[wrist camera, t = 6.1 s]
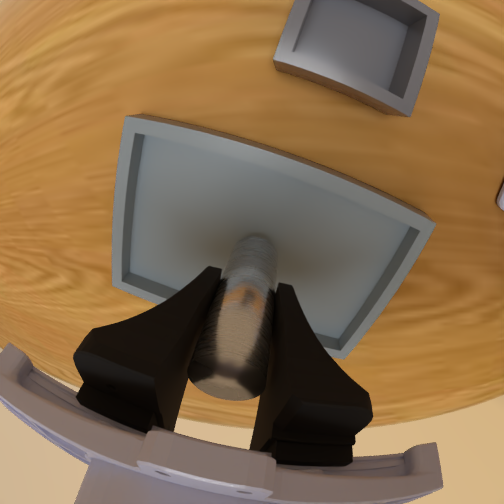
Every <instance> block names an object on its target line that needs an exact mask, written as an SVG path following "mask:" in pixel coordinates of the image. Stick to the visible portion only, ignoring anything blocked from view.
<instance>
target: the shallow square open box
mask: <svg viewBox="0 0 504 504" xmlns="http://www.w3.org/2000/svg"><path fill="white" fill-rule="evenodd" d="M439 16H440V14H439V13H437V12H436V11H434V10H433V9H431V8H429V7H428V6H426V5H425V4H423V3H421V2H420V1H418V0H295V2H294V4H293V7H292V9H291V12H290V14H289V17H288V20H287V22H286V25H285V28H284V30H283V33H282V36H281V38H280V41H279V44H278V47H277V49H276V52H275V55H274V58H273V61H274V65H275V68H276V70H278V71H281V72H285V73H288V74H291V75H294V76H297V77H300V78H303V79H306V80H309V81H312V82H314V83H317V84H320V85H322V86H325V87H328V88H330V89H333V90H335V91H337V92H340V93H342V94H345V95H347V96H349V97H351V98H354V99H356V100H358V101H360V102H362V103H365V104H367V105H369V106H371V107H373V108H375V109H377V110H379V111H381V112H383V113H385V114H387V115H394V116H403V117H410V116H411V114H412V111H413V108H414V105H415V102H416V99H417V96H418V93H419V90H420V87H421V84H422V81H423V78H424V74H425V71H426V68H427V64H428V61H429V57H430V54H431V50H432V46H433V42H434V38H435V34H436V30H437V25H438V21H439Z"/></svg>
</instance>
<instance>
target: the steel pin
mask: <svg viewBox="0 0 504 504" xmlns="http://www.w3.org/2000/svg"><path fill="white" fill-rule="evenodd" d="M277 269H278V253H277V250H276V248H275V247H274V245H273V244H272V243H271V242H269V241H268V240H266V239H264V238H261V237H257V236H250V237H245V238H243V239H241V240H239V241H238V242H237V243H236V244H235V245H234V247H233V249H232V251H231V254H230V256H229V259H228V262H227V264H226V267H225V269H224V272H223V275H222V277H221V280H220V283H219V285H218V288H217V291H216V293H215V296H214V298H213V301H212V304H211V306H210V309H209V312H208V314H207V317H206V320H205V322H204V325H203V328H202V330H201V333H200V336H199V338H198V341H197V344H196V347H195V349H194V352H193V355H192V358H191V360H190V363H189V366H188V369H187V374H188V377H189V379H190V381H191V382H192V383H193V384H194V385H195V386H196V387H197V388H198V389H200V390H201V391H203V392H205V393H207V394H209V395H211V396H214V397H217V398H220V399H225V400H233V401H242V400H249V399H253V398H255V397H257V396H259V395H261V394H262V393H263V392H264V390H265V388H266V381H267V372H268V363H269V354H270V344H271V335H272V325H273V314H274V303H275V292H276V281H277Z"/></svg>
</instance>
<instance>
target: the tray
mask: <svg viewBox="0 0 504 504" xmlns="http://www.w3.org/2000/svg"><path fill="white" fill-rule="evenodd" d="M435 226H436V223H435V222H434V221H433V220H432V219H431V218H430V217H429V216H428V215H427V214H426V213H424V212H423V211H421V210H419V209H417V208H415V207H413V206H411V205H409V204H407V203H405V202H403V201H401V200H399V199H397V198H395V197H393V196H391V195H389V194H387V193H385V192H383V191H381V190H379V189H377V188H374V187H372V186H370V185H368V184H366V183H363V182H361V181H359V180H357V179H354V178H352V177H350V176H347V175H345V174H342V173H340V172H338V171H335V170H333V169H330V168H328V167H325V166H323V165H320V164H318V163H315V162H312V161H310V160H307V159H304V158H302V157H299V156H296V155H293V154H290V153H288V152H285V151H282V150H279V149H276V148H273V147H270V146H267V145H264V144H260V143H257V142H254V141H251V140H248V139H244V138H241V137H237V136H234V135H230V134H227V133H223V132H219V131H216V130H212V129H208V128H204V127H200V126H196V125H192V124H187V123H183V122H179V121H174V120H169V119H165V118H160V117H154V116H149V115H144V114H137V115H129V116H125V121H124V126H123V132H122V138H121V144H120V151H119V158H118V165H117V174H116V183H115V194H114V208H113V226H112V286H114V287H116V288H118V289H121V290H123V291H126V292H128V293H130V294H133V295H135V296H138V297H140V298H143V299H145V300H148V301H150V302H153V303H156V304H158V305H159V304H160V303H162V302H164V301H165V300H167V299H168V298H170V297H171V296H173V295H174V294H176V293H177V292H178V291H180V290H181V289H182V288H184V287H185V286H186V285H187V284H189V283H190V282H191V281H192V280H193V279H195V278H196V277H197V276H198V275H199V274H200V273H201V272H202V271H203V270H204V269H205V268H206V267H208V266H212V267H217V268H221V269H222V273H221V277H222V275H223V272H224V269H225V267H226V264H227V262H228V259H229V256H230V254H231V251H232V249H233V247H234V245H235V244H236V243H237V242H238V241H239V240H241V239H243V238H245V237H250V236H257V237H261V238H264V239H266V240H268V241H269V242H271V243H272V244H273V245H274V247H275V248H276V250H277V253H278V269H277V281H276V290H277V287H278V283H279V282H280V283H285V284H289V285H292V286H293V288H294V291H295V293H296V296H297V298H298V301H299V303H300V306H301V308H302V310H303V312H304V314H305V316H306V319H307V321H308V322H309V324H310V326H311V328H312V330H313V332H314V333H315V335H316V337H317V338H318V340H319V341H320V343H321V344H322V346H323V347H324V349H325V350H326V351H327V352H328V354H329V355H330V356H331V357H335V358H340V359H345V358H346V357H347V356H348V354H349V353H350V352H351V351H352V350H353V348H354V347H355V346H356V345H357V344H358V342H359V341H360V340H361V339H362V337H363V336H364V335H365V333H366V332H367V331H368V330H369V328H370V327H371V326H372V324H373V323H374V322H375V320H376V319H377V318H378V316H379V315H380V314H381V312H382V311H383V309H384V308H385V307H386V305H387V304H388V302H389V301H390V300H391V298H392V297H393V295H394V294H395V292H396V291H397V289H398V288H399V286H400V285H401V283H402V282H403V280H404V279H405V277H406V276H407V274H408V272H409V271H410V269H411V268H412V266H413V264H414V263H415V261H416V260H417V258H418V256H419V255H420V253H421V251H422V249H423V248H424V246H425V244H426V242H427V241H428V239H429V237H430V235H431V233H432V232H433V230H434V228H435ZM275 293H276V292H275Z"/></svg>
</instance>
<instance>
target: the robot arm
mask: <svg viewBox="0 0 504 504" xmlns="http://www.w3.org/2000/svg"><path fill="white" fill-rule="evenodd" d="M497 205H498V206H499V207H500V208H501V209H502V210H503V211H504V184H503V186H502V189H501V191H500V193H499V196H498V198H497ZM221 273H222V269H221V268H217V267H212V266H208V267H206V268H205V269H204V270H203V271H202V272H201V273H200V274H199V275H198V276H197V277H196V278H195V279H193V280H192V281H191V282H190V283H189V284H187V285H186V286H185V287H184V288H182V289H181V290H180V291H178V292H177V293H176V294H174V295H173V296H171V297H170V298H168V299H167V300H165V301H164V302H162V303H160V304H159V305H157V306H155V307H153V308H152V309H150V310H148V311H146V312H143V313H141V314H139V315H137V316H135V317H132V318H129V319H127V320H124V321H121V322H118V323H114V324H111V325H107V326H103V327H98V328H94V329H92V330H91V331H90V332H89V334H88V335H87V336H86V337H85V338H84V340H83V341H82V343H81V344H80V346H79V347H78V348H77V350H76V351H75V353H74V355H73V359H74V363H75V366H76V368H77V370H78V372H79V374H80V376H81V378H82V380H83V382H84V383H83V385H82V386H81V388H80V390H79V392H76V391H74V390H72V389H70V388H68V387H67V386H65V385H63V384H61V383H60V382H58V381H56V380H54V379H53V378H51V377H49V376H48V375H46V374H45V373H43V372H42V371H40V370H38V369H37V368H35V367H34V366H33V364H32V362H31V360H30V359H29V357H28V356H27V355H26V354H25V353H24V352H22V351H21V350H20V349H18V348H17V347H15V346H14V345H13V344H11V343H8V344H7V345H6V347H5V348H4V349H3V351H2V352H1V353H0V401H1V402H2V404H3V405H4V406H5V407H6V408H7V409H8V410H10V411H11V412H12V413H13V414H14V415H16V416H17V417H18V418H19V419H21V420H22V421H23V422H24V423H26V424H27V425H28V426H29V427H31V428H32V429H34V430H35V431H36V432H38V433H39V434H40V435H42V436H43V437H44V438H46V439H47V440H49V441H50V442H52V443H53V444H55V445H56V446H58V447H59V448H61V449H62V450H64V451H66V452H67V453H69V454H70V455H72V456H74V457H76V458H77V459H79V460H81V461H82V462H84V463H86V464H88V465H89V467H88V470H87V472H86V474H85V477H84V479H83V482H82V485H81V487H80V490H79V492H78V495H77V497H76V500H75V503H74V504H403V503H407V502H410V501H413V500H415V499H418V498H421V497H423V496H425V495H428V494H431V493H433V492H435V491H438V490H440V489H442V488H443V480H442V473H441V466H440V461H439V455H438V450H437V444H436V442H433V443H427V444H421V445H416V446H414V447H412V448H410V449H408V450H407V451H405V452H404V453H399V454H390V455H379V456H364V457H353V452H352V445H354V444H355V442H356V441H355V435H356V434H357V433H358V432H360V431H361V430H362V429H363V428H365V427H366V426H367V425H368V424H369V423H370V422H371V421H372V418H373V412H372V405H371V400H370V397H369V393H368V392H367V391H366V390H364V389H363V388H362V387H361V386H360V385H358V384H357V383H356V382H355V381H354V380H352V379H351V378H350V377H349V376H348V375H347V374H346V373H345V372H344V371H343V370H342V369H341V368H340V367H339V366H338V364H337V363H336V362H335V361H334V360H333V359H332V357H331V356H330V355H329V354H328V352H327V351H326V350H325V349H324V347H323V346H322V344H321V343H320V341H319V340H318V338H317V337H316V335H315V333H314V332H313V330H312V328H311V326H310V324H309V322H308V321H307V319H306V316H305V314H304V312H303V310H302V308H301V306H300V303H299V301H298V298H297V296H296V293H295V291H294V288H293V286H292V285H289V284H285V283H280V282H279V283H278V287H277V290H276V293H275V303H274V314H273V325H272V335H271V344H270V354H269V363H268V372H267V381H266V388H265V390H264V392H263V393H262V394H261V395H260V400H259V405H258V411H257V416H256V421H255V426H254V431H253V436H252V440H251V444H250V449H249V450H247V449H241V448H236V447H231V446H226V445H221V444H217V443H212V442H208V441H204V440H200V439H196V438H192V437H189V436H185V435H181V434H178V433H175V432H174V428H175V424H176V420H177V416H178V413H179V409H180V405H181V402H182V398H183V395H184V391H185V388H186V384H187V381H188V378H189V377H188V374H187V369H188V366H189V363H190V360H191V358H192V355H193V352H194V349H195V347H196V344H197V341H198V338H199V336H200V333H201V330H202V328H203V325H204V322H205V320H206V317H207V314H208V312H209V309H210V306H211V304H212V301H213V298H214V296H215V293H216V291H217V288H218V285H219V283H220V280H221Z"/></svg>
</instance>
